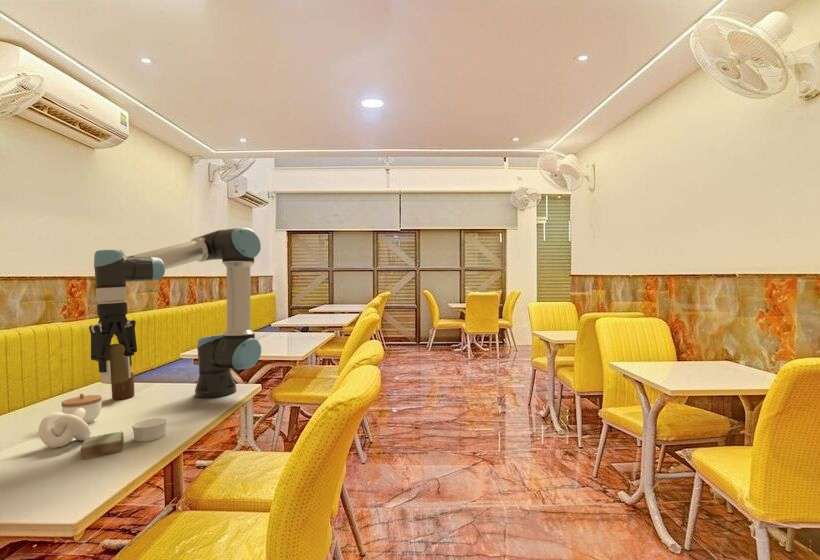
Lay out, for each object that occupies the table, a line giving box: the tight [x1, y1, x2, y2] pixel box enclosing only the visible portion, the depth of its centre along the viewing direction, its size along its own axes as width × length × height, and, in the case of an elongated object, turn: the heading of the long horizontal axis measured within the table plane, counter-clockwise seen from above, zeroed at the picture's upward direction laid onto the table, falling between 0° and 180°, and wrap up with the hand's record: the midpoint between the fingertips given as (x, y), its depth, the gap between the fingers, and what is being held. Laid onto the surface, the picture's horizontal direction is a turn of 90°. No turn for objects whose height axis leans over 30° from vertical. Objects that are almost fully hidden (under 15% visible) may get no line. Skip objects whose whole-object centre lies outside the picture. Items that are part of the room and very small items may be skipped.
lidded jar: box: [61, 393, 103, 425], centre depth 149 cm, size 11×11×9 cm
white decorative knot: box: [38, 408, 92, 449], centre depth 130 cm, size 11×12×9 cm
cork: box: [104, 343, 129, 385], centre depth 135 cm, size 6×6×11 cm
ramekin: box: [131, 417, 168, 443], centre depth 132 cm, size 9×9×4 cm
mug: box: [110, 371, 135, 401], centre depth 179 cm, size 12×8×9 cm, turn 29°
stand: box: [80, 430, 125, 460], centre depth 123 cm, size 9×9×3 cm
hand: (116, 380), depth 135 cm, fingers closed on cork, 6 cm apart
